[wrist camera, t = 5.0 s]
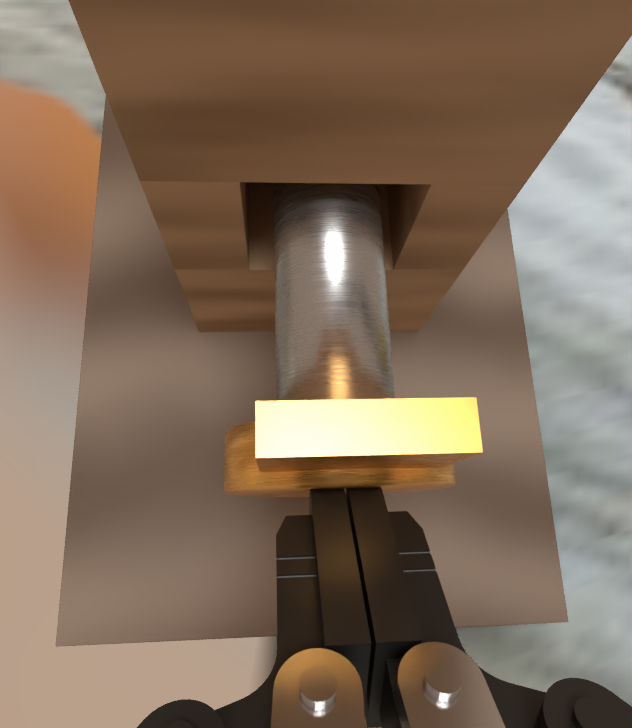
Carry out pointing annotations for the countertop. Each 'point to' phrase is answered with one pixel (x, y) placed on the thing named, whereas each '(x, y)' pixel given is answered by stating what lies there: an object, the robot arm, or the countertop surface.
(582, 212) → the countertop surface
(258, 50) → the hitch post
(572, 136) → the countertop surface
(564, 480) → the countertop surface
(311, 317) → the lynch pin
